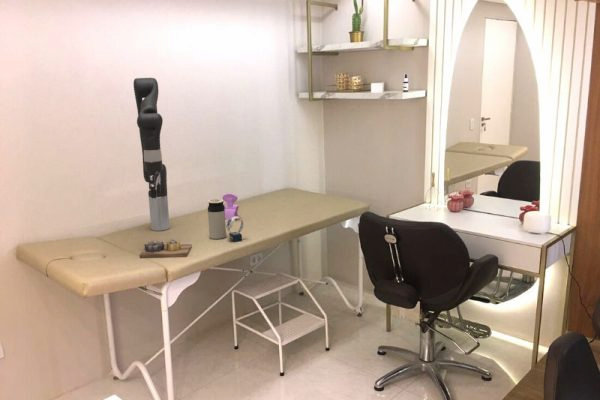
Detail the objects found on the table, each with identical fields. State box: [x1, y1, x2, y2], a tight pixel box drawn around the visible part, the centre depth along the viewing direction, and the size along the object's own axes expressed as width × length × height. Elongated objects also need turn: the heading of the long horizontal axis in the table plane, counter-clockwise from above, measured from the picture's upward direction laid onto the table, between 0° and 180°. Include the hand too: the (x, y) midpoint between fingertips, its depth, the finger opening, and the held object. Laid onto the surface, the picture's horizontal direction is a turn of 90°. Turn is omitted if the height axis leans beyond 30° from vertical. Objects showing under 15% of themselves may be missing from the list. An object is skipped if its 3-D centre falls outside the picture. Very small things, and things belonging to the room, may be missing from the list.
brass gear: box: [165, 239, 182, 251], centre depth 233 cm, size 6×6×3 cm
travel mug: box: [207, 198, 227, 240], centre depth 254 cm, size 8×8×18 cm
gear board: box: [139, 237, 193, 259], centre depth 233 cm, size 13×20×6 cm, turn 93°
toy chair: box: [221, 192, 239, 220], centre depth 286 cm, size 8×9×15 cm
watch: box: [226, 217, 245, 243], centre depth 249 cm, size 6×8×11 cm
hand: (156, 195), depth 236 cm, fingers open, 8 cm apart
